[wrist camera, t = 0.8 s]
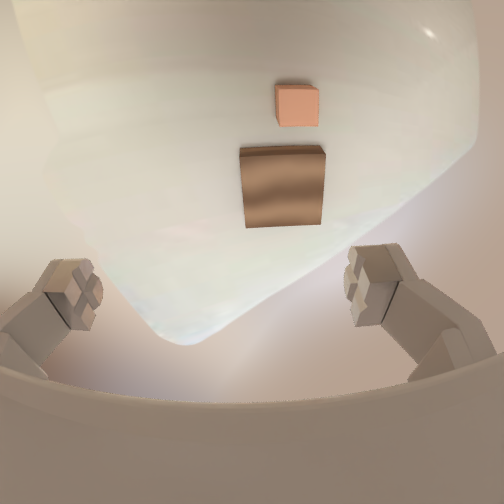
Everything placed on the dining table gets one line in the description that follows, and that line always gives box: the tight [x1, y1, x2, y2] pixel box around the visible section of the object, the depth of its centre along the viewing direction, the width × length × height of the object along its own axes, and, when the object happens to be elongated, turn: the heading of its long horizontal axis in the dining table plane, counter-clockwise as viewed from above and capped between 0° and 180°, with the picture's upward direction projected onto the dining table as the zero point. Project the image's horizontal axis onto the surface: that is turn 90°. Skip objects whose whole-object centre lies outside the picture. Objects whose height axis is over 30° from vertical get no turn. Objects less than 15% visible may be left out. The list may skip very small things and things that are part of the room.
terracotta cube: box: [275, 85, 319, 127], centre depth 34 cm, size 5×5×5 cm
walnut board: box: [239, 146, 326, 228], centre depth 43 cm, size 12×12×4 cm
